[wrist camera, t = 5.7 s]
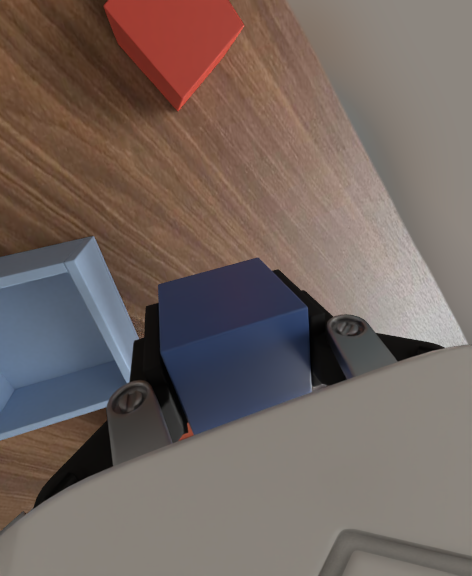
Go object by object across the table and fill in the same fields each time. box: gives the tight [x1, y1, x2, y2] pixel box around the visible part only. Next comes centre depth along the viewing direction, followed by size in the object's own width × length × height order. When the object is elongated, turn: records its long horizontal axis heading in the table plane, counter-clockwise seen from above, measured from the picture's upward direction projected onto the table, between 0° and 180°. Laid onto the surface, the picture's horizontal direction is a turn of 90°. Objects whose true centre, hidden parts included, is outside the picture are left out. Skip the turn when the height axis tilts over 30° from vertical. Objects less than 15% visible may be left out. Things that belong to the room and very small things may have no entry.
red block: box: [104, 0, 244, 111], centre depth 14 cm, size 4×4×4 cm
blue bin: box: [0, 236, 139, 440], centre depth 19 cm, size 11×11×5 cm
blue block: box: [158, 258, 312, 435], centre depth 11 cm, size 4×4×4 cm
